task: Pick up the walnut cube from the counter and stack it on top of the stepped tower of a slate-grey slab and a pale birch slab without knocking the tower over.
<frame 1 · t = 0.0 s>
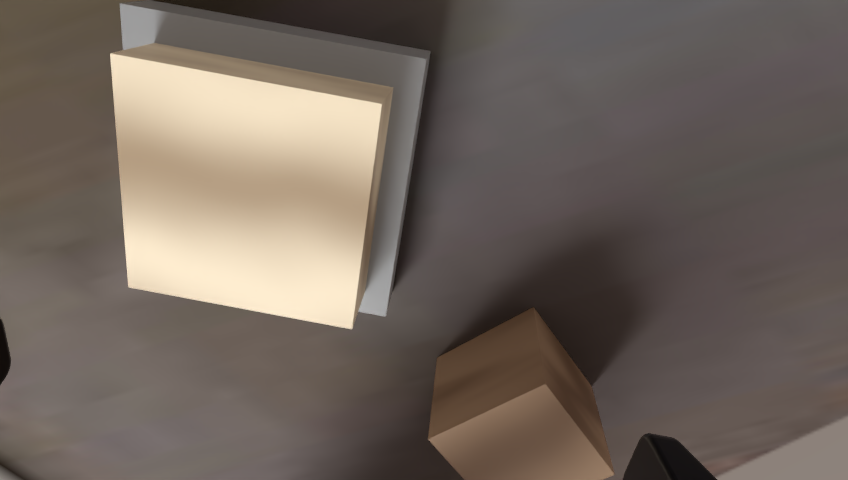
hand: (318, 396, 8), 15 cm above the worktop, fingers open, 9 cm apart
birch top block: (268, 178, 20), point 2 cm above the worktop, touching grey base block
walnut cube: (514, 370, 26), on the worktop
grey base block: (287, 155, 23), on the worktop, touching birch top block
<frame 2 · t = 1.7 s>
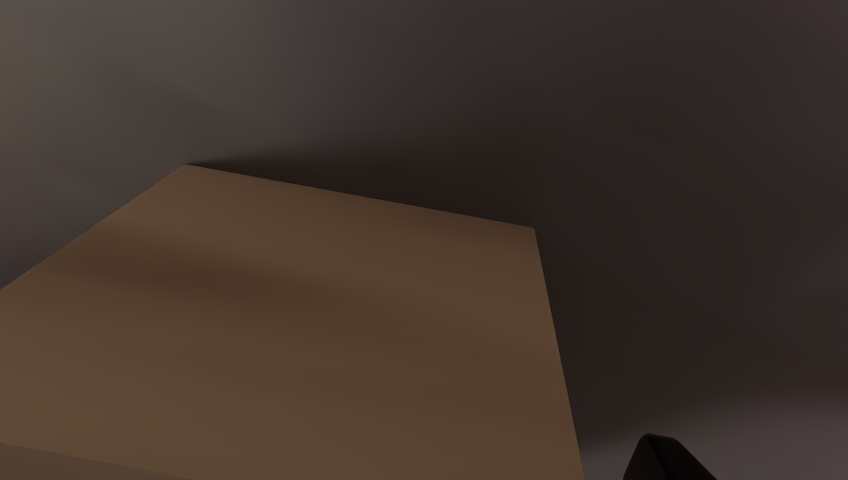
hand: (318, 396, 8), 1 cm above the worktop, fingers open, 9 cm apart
walnut cube: (343, 336, 9), on the worktop
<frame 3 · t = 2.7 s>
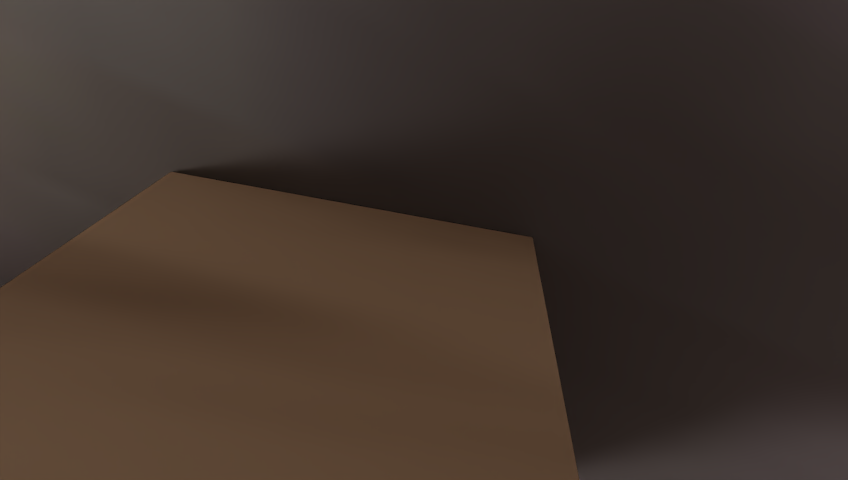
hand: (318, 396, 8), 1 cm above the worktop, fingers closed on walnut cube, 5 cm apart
walnut cube: (335, 350, 9), on the worktop, touching gripper
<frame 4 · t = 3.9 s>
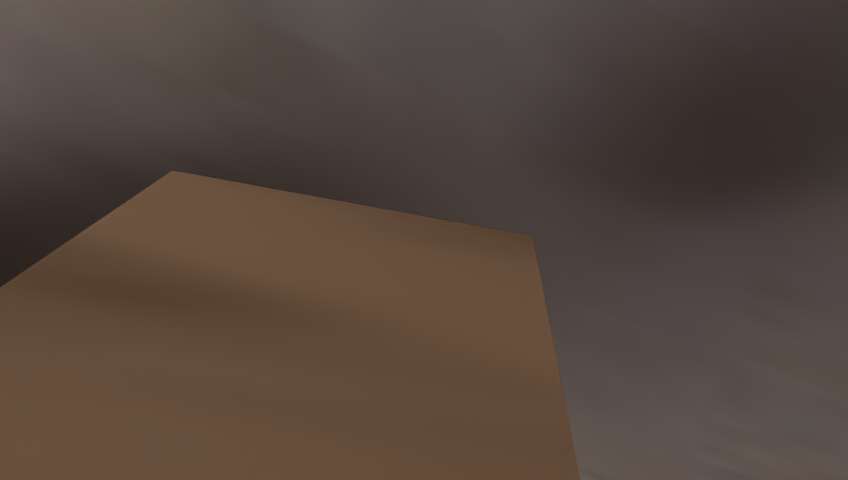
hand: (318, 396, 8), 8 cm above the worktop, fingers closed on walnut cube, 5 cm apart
walnut cube: (335, 349, 9), point 6 cm above the worktop, touching gripper
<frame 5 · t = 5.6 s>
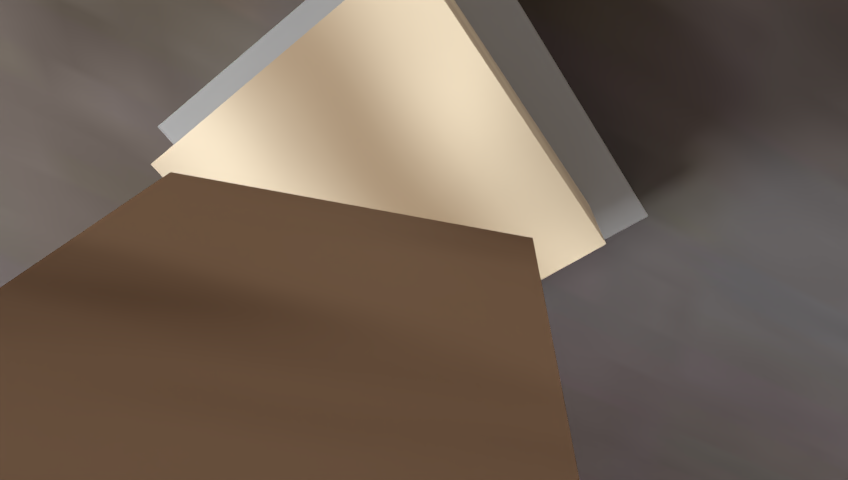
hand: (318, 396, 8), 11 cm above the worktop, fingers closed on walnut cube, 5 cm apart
birch top block: (391, 170, 16), point 2 cm above the worktop, touching grey base block
walnut cube: (335, 351, 9), point 10 cm above the worktop, touching gripper
grey base block: (411, 145, 18), on the worktop, touching birch top block
when the fingers open (7 cm above the worktop, at t = 6.8 s): walnut cube drops 2 cm, resting on birch top block.
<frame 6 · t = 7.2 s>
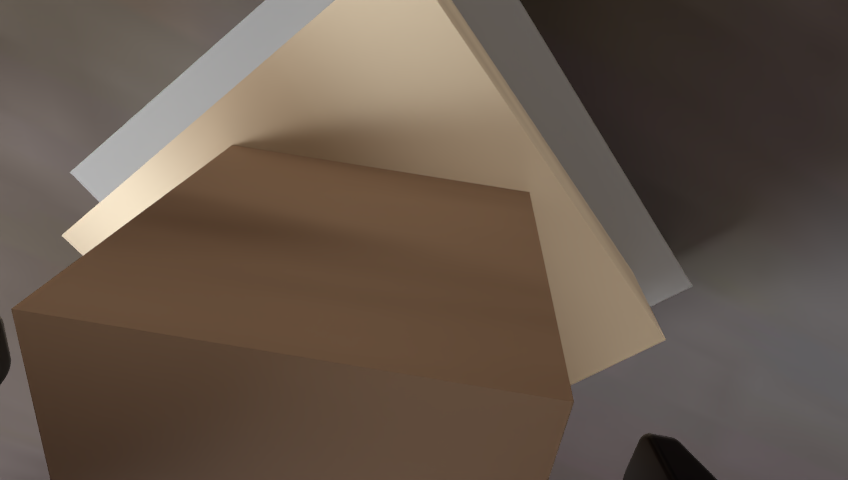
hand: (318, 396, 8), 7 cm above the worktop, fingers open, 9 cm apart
birch top block: (382, 229, 13), point 2 cm above the worktop, touching grey base block, walnut cube
walnut cube: (366, 295, 11), point 4 cm above the worktop, touching birch top block
grey base block: (394, 188, 15), on the worktop, touching birch top block
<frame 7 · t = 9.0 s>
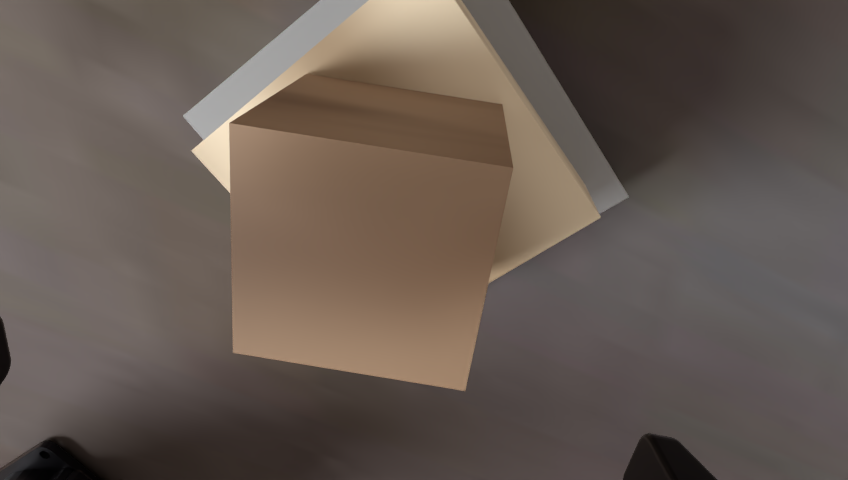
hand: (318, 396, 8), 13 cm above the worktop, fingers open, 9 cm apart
birch top block: (405, 156, 18), point 2 cm above the worktop, touching grey base block
walnut cube: (393, 181, 15), point 4 cm above the worktop
grey base block: (413, 134, 20), on the worktop, touching birch top block
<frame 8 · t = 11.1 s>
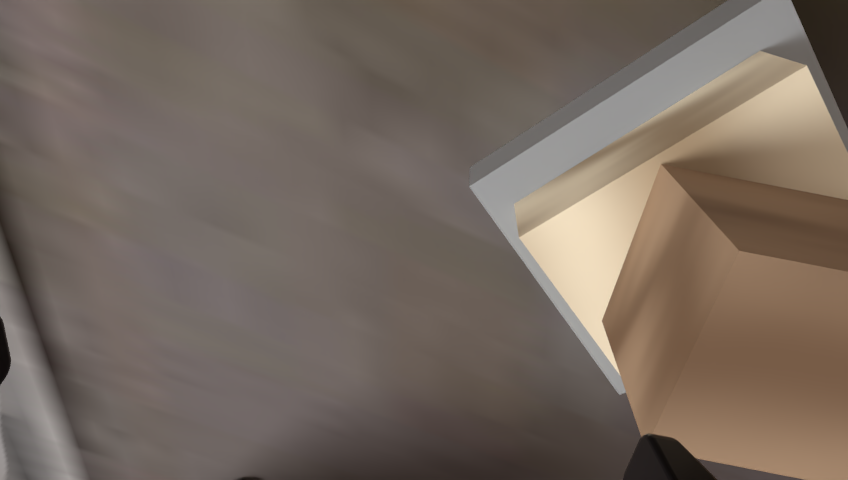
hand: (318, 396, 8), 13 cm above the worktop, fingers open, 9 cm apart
birch top block: (688, 233, 18), point 2 cm above the worktop, touching grey base block, walnut cube
walnut cube: (717, 264, 16), point 4 cm above the worktop, touching birch top block
grey base block: (664, 197, 20), on the worktop, touching birch top block
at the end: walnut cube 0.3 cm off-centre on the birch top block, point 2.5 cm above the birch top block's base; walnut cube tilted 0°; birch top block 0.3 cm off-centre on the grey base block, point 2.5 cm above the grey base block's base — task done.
